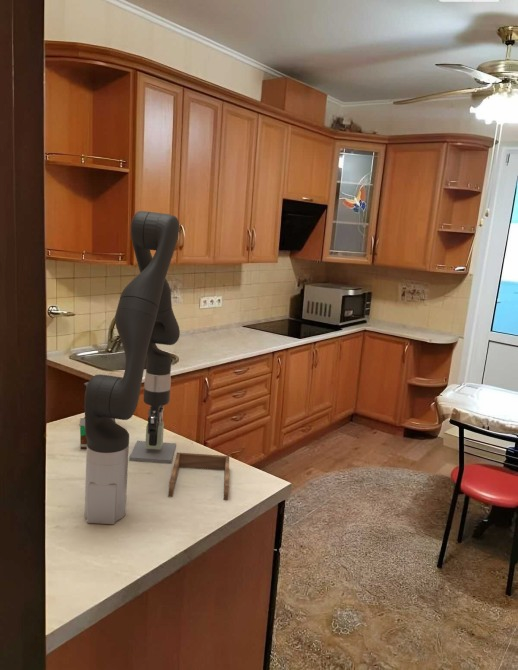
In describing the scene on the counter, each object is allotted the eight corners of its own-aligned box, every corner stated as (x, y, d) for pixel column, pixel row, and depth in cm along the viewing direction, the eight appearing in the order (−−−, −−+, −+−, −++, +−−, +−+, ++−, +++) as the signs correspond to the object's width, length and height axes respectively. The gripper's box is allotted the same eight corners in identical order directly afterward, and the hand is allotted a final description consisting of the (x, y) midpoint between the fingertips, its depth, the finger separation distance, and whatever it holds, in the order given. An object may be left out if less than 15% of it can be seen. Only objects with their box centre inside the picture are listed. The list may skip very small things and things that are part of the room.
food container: (99, 453, 151) (100, 420, 149) (78, 451, 151) (79, 418, 149) (112, 436, 163) (113, 406, 161) (92, 434, 163) (93, 404, 161)
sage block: (160, 449, 152) (162, 427, 150) (145, 448, 151) (146, 426, 150) (162, 443, 156) (164, 421, 155) (147, 442, 156) (149, 420, 154)
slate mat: (171, 463, 149) (171, 460, 148) (129, 460, 148) (129, 457, 148) (175, 446, 160) (176, 443, 160) (137, 443, 160) (137, 440, 159)
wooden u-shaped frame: (227, 500, 132) (228, 485, 131) (168, 496, 131) (169, 481, 130) (228, 468, 149) (229, 456, 148) (176, 465, 148) (176, 452, 147)
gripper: (167, 395, 143) (163, 452, 147) (173, 380, 157) (169, 433, 161) (140, 393, 143) (136, 451, 146) (148, 378, 157) (145, 431, 160)
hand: (154, 441), depth 153 cm, fingers closed on sage block, 4 cm apart
